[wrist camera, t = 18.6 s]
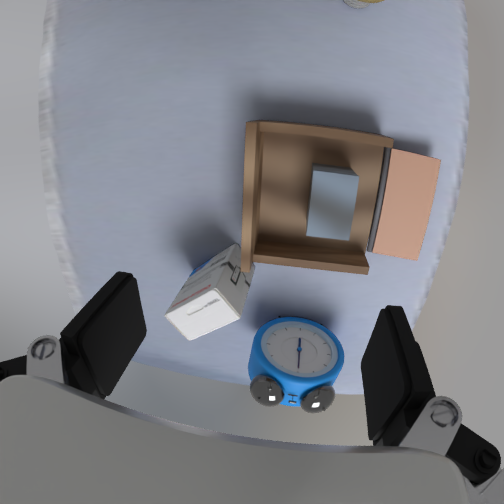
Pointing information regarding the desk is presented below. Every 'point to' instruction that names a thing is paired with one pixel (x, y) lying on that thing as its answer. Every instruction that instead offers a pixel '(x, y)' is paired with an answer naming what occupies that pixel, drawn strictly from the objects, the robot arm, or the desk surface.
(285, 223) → the brown open box
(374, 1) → the light bulb
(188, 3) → the desk surface
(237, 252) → the ink box
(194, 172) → the desk surface
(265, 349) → the alarm clock
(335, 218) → the blue gray block
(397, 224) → the panel
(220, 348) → the desk surface
